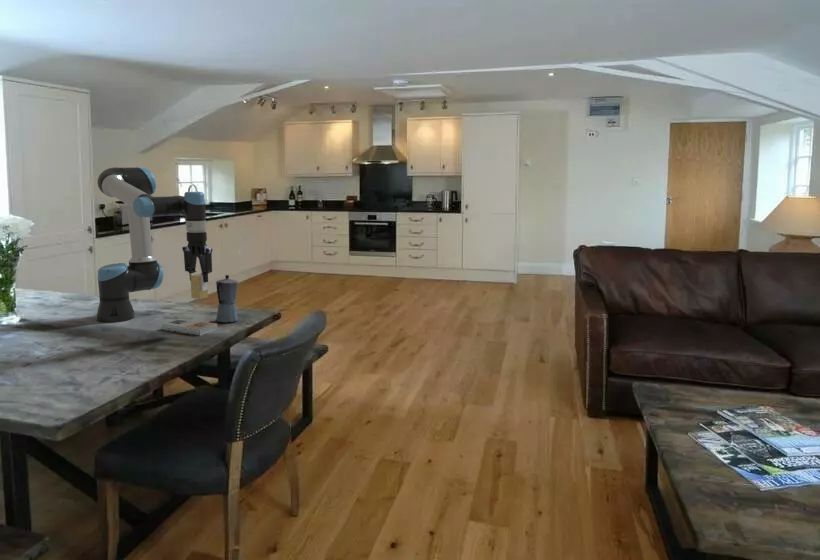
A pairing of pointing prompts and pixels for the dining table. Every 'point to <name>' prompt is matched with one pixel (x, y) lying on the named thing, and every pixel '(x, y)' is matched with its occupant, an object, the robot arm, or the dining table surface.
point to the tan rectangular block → (197, 287)
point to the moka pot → (227, 300)
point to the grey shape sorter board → (189, 326)
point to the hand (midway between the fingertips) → (199, 289)
